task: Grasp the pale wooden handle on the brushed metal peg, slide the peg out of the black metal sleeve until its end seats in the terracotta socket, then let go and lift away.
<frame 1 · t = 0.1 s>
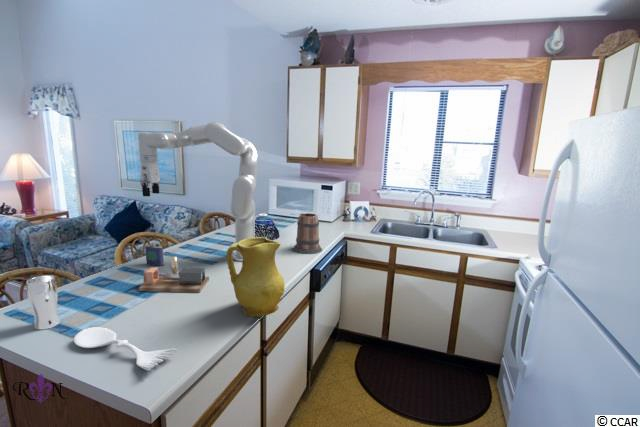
hand: (151, 194, 159), 31 cm above the worktop, tool pointing down, fingers open, 9 cm apart
tankard: (309, 248, 187), on the worktop
flask: (155, 264, 153), on the worktop
socket block: (151, 275, 130), on the base board, point 4 cm above the worktop
outer sleeve: (192, 276, 131), on the base board, point 4 cm above the worktop
pitcher: (258, 307, 117), on the worktop
beer glass: (47, 325, 101), on the worktop
spoon: (121, 353, 90), on the worktop
base board: (175, 285, 132), on the worktop
brushed metal peg: (182, 268, 130), point 7 cm above the worktop, slide at 0.0 cm
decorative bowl: (263, 237, 206), on the worktop
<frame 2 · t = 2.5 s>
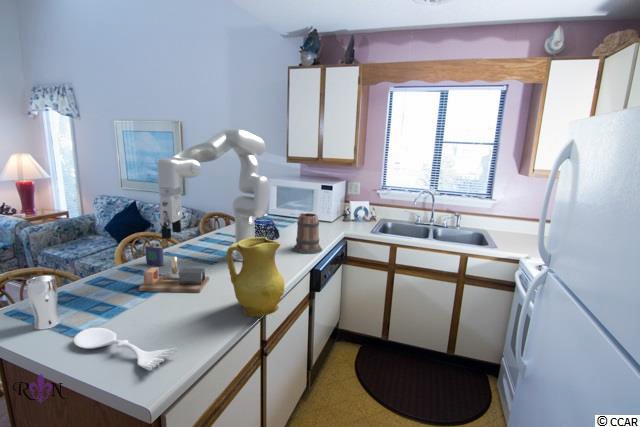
hand: (171, 235, 127), 21 cm above the worktop, tool pointing down, fingers open, 9 cm apart
nothing on the worktop moved.
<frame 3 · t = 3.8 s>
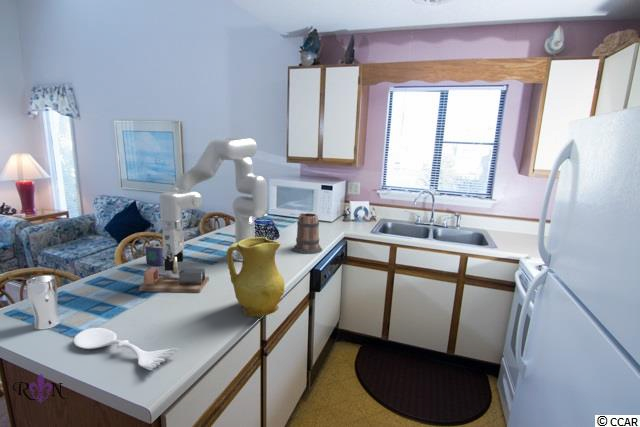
hand: (174, 265, 130), 8 cm above the worktop, tool pointing down, fingers open, 9 cm apart
nothing on the worktop moved.
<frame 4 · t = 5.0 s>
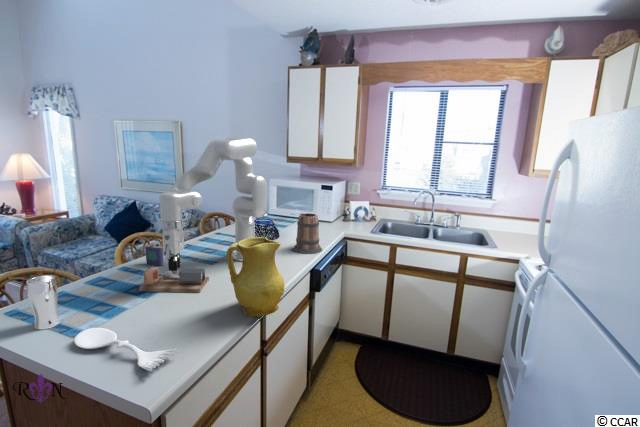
hand: (174, 268, 130), 7 cm above the worktop, tool pointing down, fingers closed on brushed metal peg, 2 cm apart
brushed metal peg: (182, 268, 130), point 7 cm above the worktop, slide at 0.0 cm, touching gripper
everything else where it was.
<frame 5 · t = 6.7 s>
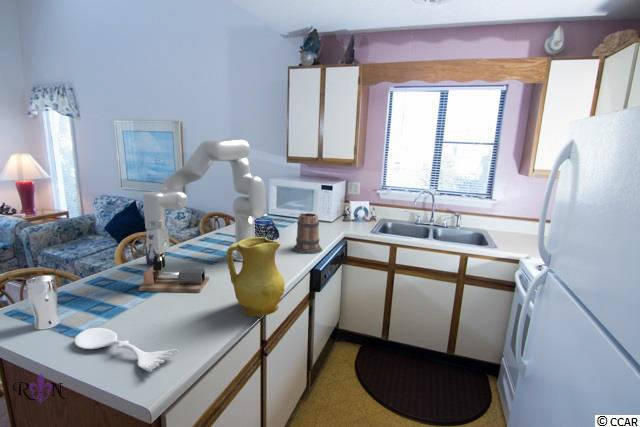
hand: (159, 268, 130), 7 cm above the worktop, tool pointing down, fingers closed on brushed metal peg, 2 cm apart
brushed metal peg: (167, 268, 130), point 7 cm above the worktop, slide at 6.0 cm, touching gripper
everything else where it was.
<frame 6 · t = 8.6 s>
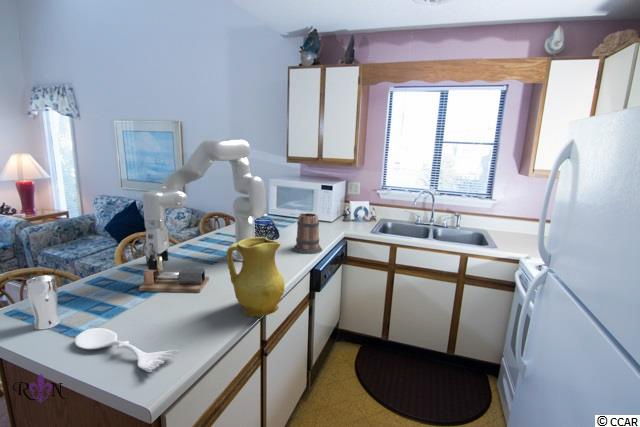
hand: (158, 265, 130), 9 cm above the worktop, tool pointing down, fingers open, 9 cm apart
brushed metal peg: (167, 268, 130), point 7 cm above the worktop, slide at 5.9 cm
everything else where it was.
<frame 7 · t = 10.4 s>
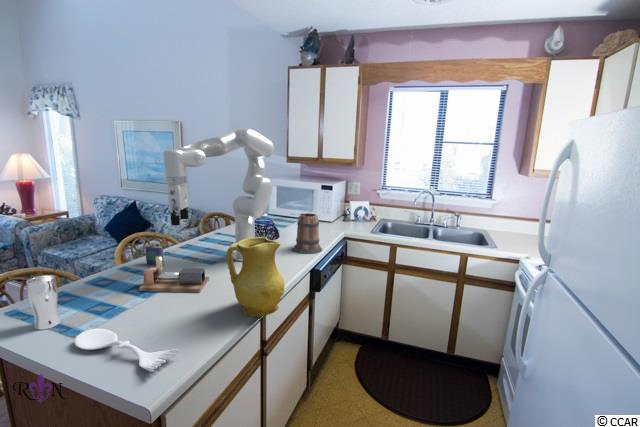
hand: (180, 221, 135), 24 cm above the worktop, tool pointing down, fingers open, 9 cm apart
nothing on the worktop moved.
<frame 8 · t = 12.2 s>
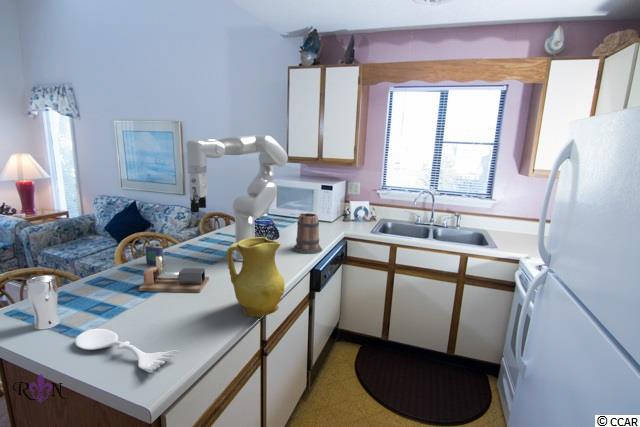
hand: (198, 209, 141), 28 cm above the worktop, tool pointing down, fingers open, 9 cm apart
at the end: brushed metal peg slide at 5.9 cm; the gripper is holding nothing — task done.
